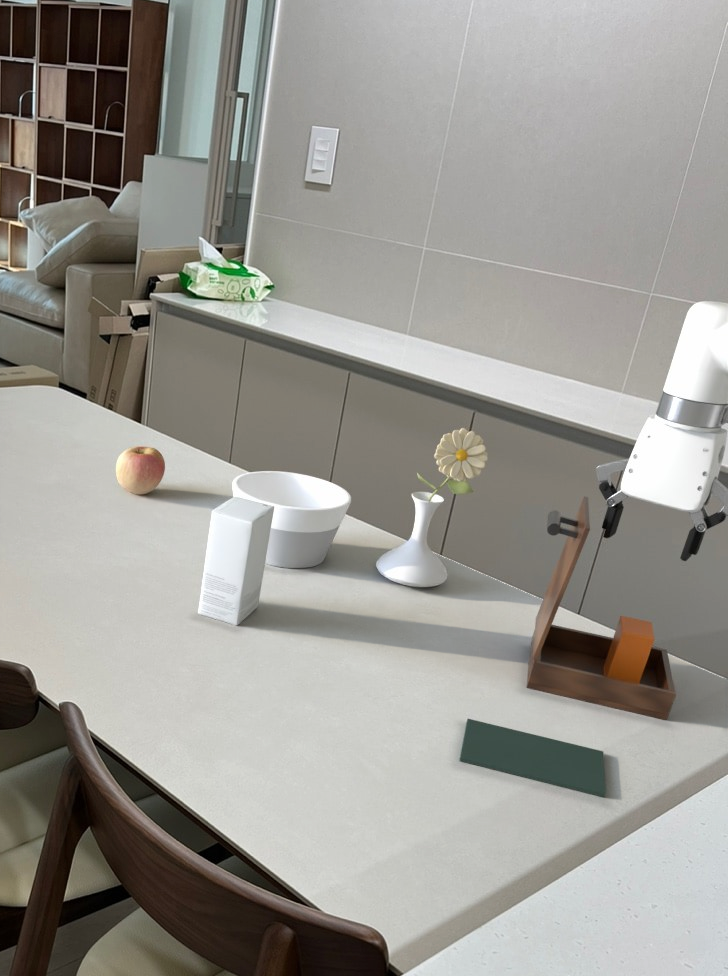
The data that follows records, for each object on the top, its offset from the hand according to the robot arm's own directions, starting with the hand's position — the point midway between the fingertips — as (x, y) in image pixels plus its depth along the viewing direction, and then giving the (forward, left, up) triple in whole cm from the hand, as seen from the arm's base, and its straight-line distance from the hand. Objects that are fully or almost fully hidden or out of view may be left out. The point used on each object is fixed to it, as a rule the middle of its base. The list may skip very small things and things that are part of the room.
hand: (646, 546), depth 134 cm
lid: (+9, 0, -6) cm, 11 cm away
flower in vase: (+29, -23, -20) cm, 41 cm away
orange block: (-2, 0, -19) cm, 19 cm away
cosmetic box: (+52, +5, -20) cm, 55 cm away
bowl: (+51, -23, -20) cm, 59 cm away
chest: (+1, 0, -20) cm, 20 cm away
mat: (+9, +26, -20) cm, 34 cm away
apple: (+82, -38, -20) cm, 92 cm away
